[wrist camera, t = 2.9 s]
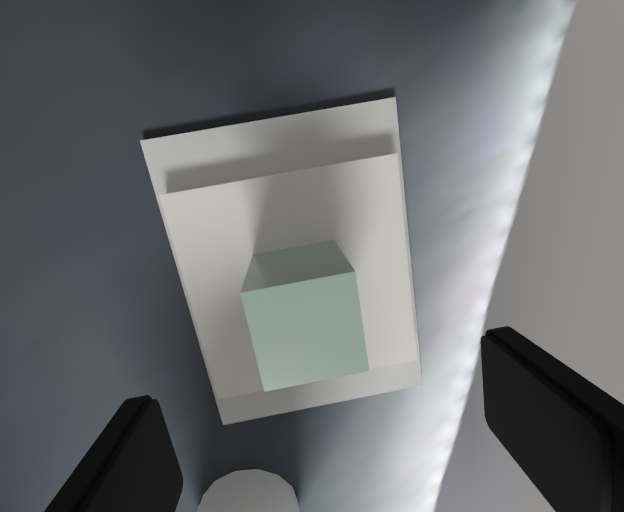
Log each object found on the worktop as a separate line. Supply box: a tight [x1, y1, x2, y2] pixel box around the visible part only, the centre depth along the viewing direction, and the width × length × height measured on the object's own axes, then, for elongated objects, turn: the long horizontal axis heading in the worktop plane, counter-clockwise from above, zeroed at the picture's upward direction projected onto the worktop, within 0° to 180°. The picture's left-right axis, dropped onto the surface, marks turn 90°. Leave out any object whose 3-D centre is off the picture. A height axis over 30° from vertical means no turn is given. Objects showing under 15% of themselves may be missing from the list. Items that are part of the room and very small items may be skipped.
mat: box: [140, 97, 422, 425], centre depth 18 cm, size 16×12×1 cm
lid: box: [159, 153, 417, 399], centre depth 15 cm, size 11×11×6 cm
